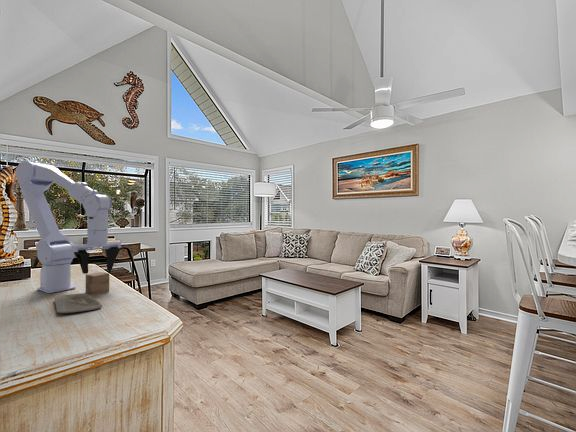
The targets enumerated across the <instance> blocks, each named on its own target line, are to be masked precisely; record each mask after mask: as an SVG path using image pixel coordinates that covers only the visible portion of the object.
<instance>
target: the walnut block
mask: <svg viewBox="0 0 576 432" xmlns="http://www.w3.org/2000/svg"><path fill="white" fill-rule="evenodd" d="M109 292H110V273H108V272H104V271H98V272H93V273H88V274H85V294H88V295H89V294H90V295H98V294H104V293H109Z"/></svg>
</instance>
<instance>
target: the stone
mask: <svg viewBox="0 0 576 432" xmlns="http://www.w3.org/2000/svg"><path fill="white" fill-rule="evenodd" d="M54 304H55V308H56V313H58V314H72V313H78V312H79V313H81V312H86V311H87V312H88V311H93V310H99V309H101V308H102V306H103V305H102V303H101V302H99V301H98V300H97V299H95V298H94V297H92V296H90V295H89V294H88V293H86V292H85V293H84V292H82V293H81V292H80V293H71V294H61V295H60V294H59V295H54Z"/></svg>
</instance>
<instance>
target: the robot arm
mask: <svg viewBox="0 0 576 432" xmlns="http://www.w3.org/2000/svg"><path fill="white" fill-rule="evenodd" d="M14 174H15V176H16V178H17V181H18V183H19V186H20V191H21V195H22V198H23V199H24V201H25V204H26V206H27V208H28V211H29V213H30V215H31V218H32V220H33V223H34V226H35V228H36V229H37V232H38V235H39V237H40V239H39V241H38V242H37V243H36V244H35V248H36V251H37V252H36V254H37V260H38V261H39V262H40V263H41V265H42V267H41V268H40V272H39V274H40V276H39V277H40V280H39V281H40V282H39V283H40V285H39V287H36V290H38V291H41V292H43V293H46V294H52V293H56V292H57V293H58V292H63V291H68V290H74V289H76V288H77V287H76V286H73V285H71V274H72V273H71V270H72V269H71V266H72V265H71V264H72V262H73V259H74V258H75V257H76V259H77V261H78V263H79V265H80V269H81V272H82V273H81V274H84V275H86V274H89V260H90V259H89V258H90V252H88V251H95V250H96V251H97V250H104V251H105V256H106V269H107V270H108V271H112V270H113V268H114V264H115V261H116V258H117V256H118V255H119V253H120V251H121V249H120V248H122V242H121V241H112V242H108V241H109V237H108V236H109V235H108V232H109V231H108V230H109V229H108V225H109V223H108V222H109V221H108V220H109V219H108V218H109V216H108V215H109V211H110V210H111V208H112V205H113V203H112V202H113V201H112V198H111V197H109V196H108V194H105V193H104V194H100V193H99V190H96V189H93V188H91V187H89V186H88V183H87V182H83V181H74V180H73V179H71V178H70V177H69V176H67V175H66V174H65V173H63V172H62V171H60V169H59V168H58V167H56V166H54V165H52V164H45V163H37V162H32V161H28V160H23V161H21V162H19V164H18V165H17V168H16V169H15V172H14ZM53 183H54V184H56V185H58V186H59V187H61V188H63V189H65V190H67V194H68V196H69V197H71V198H72V199H74V200H76V201H77V202H78V203H80V204H82V208H83V209H84V210H85V216H86V217H87V218H86V219H87V223H86V224H87V225H86V227H87V229H86V230H87V234H86V235H87V237H86V238H87V242H86V243H85V244H83V243H82V244H74V243H73V242H72V241H71V239H70V238H69V237H68V236H66V235H64V234H62V233H61V231H60V229H59V227H58V224H57V223H56V220H55V217H54V215H53V212H52V210H51V208H50V205H49V203H48V201H47V198H46V196H45V194H44V192H45V191H47V190H48V189H49V188H50V187H51V186H52V185H53Z"/></svg>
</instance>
